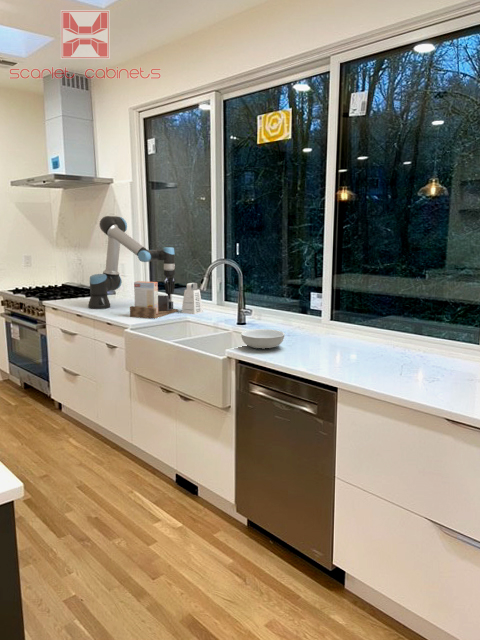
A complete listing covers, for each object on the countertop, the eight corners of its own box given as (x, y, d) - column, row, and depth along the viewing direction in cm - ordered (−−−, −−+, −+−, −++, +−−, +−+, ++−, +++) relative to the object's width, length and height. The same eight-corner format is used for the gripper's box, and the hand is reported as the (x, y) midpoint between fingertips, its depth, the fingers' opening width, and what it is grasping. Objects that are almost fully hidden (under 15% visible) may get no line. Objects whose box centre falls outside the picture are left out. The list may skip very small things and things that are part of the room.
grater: (202, 312, 324) (202, 283, 321) (194, 314, 315) (194, 284, 311) (190, 310, 329) (190, 282, 325) (181, 312, 320) (181, 283, 316)
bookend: (149, 309, 321) (148, 294, 319) (156, 307, 330) (156, 293, 328) (167, 310, 316) (167, 296, 314) (174, 308, 325) (174, 294, 324)
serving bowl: (269, 340, 242) (269, 327, 241) (292, 349, 224) (293, 335, 223) (233, 344, 232) (233, 330, 231) (254, 354, 214) (254, 339, 213)
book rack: (130, 316, 304) (129, 306, 302) (155, 309, 332) (154, 300, 331) (154, 318, 297) (154, 308, 296) (177, 311, 326) (177, 302, 325)
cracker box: (158, 313, 307) (158, 281, 303) (154, 315, 301) (153, 282, 297) (139, 312, 310) (138, 280, 306) (134, 314, 304) (133, 281, 301)
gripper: (169, 270, 321) (170, 304, 325) (178, 269, 333) (179, 302, 337) (159, 270, 324) (160, 304, 328) (169, 268, 336) (169, 301, 340)
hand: (170, 303), depth 333 cm, fingers closed
